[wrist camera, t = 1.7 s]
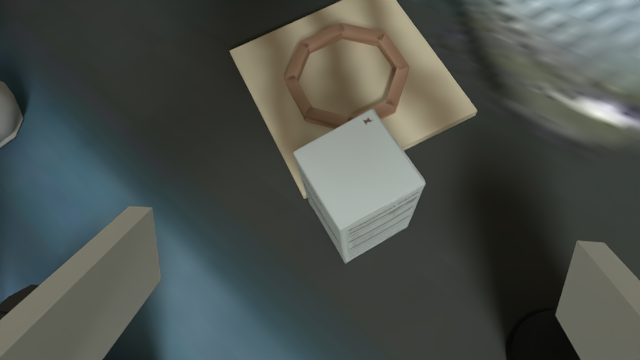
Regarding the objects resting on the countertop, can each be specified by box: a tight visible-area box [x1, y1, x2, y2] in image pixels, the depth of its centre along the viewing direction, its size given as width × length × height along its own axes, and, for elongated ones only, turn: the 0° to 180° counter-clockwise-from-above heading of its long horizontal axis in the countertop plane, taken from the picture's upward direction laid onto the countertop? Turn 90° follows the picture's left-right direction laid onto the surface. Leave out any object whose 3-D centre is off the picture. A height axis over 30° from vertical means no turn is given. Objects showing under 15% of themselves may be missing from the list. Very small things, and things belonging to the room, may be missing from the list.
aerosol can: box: [507, 308, 581, 360], centre depth 29 cm, size 8×8×20 cm
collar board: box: [230, 0, 477, 199], centre depth 49 cm, size 20×20×2 cm
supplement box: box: [293, 109, 425, 263], centre depth 38 cm, size 7×7×13 cm
